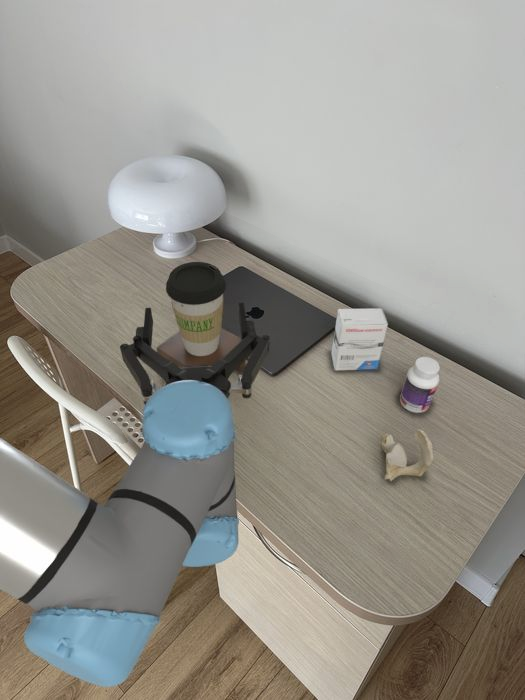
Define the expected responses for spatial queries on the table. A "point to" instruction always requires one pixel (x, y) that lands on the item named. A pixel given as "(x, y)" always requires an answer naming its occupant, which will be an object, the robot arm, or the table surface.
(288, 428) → the table surface
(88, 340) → the table surface
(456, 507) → the table surface
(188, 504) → the robot arm
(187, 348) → the coffee cup
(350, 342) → the ink box
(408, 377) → the pill bottle
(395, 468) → the bone
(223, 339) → the small brown wooden table
